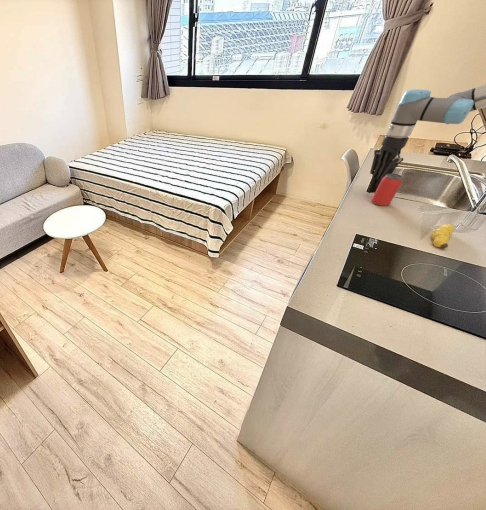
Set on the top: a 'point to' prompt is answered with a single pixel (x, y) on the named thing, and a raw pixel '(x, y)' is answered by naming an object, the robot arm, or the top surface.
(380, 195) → the beer can
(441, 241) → the yellow lumpy toy
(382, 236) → the top surface
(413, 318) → the top surface
